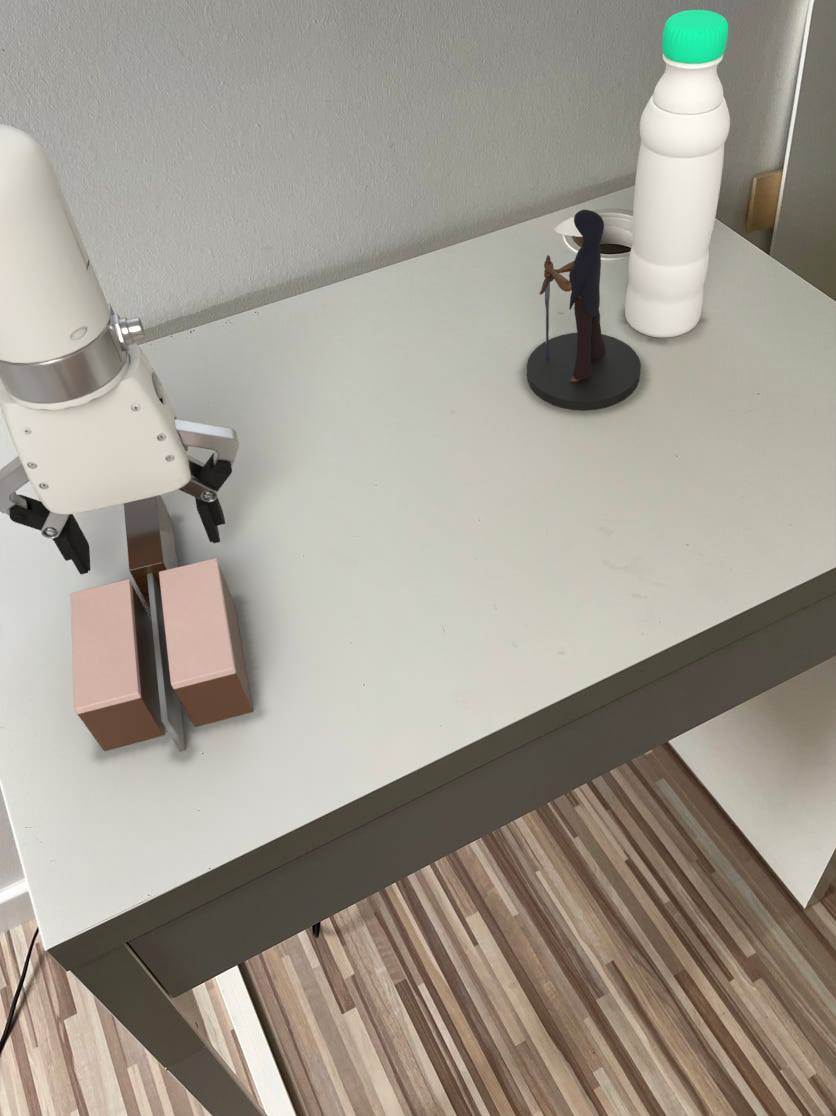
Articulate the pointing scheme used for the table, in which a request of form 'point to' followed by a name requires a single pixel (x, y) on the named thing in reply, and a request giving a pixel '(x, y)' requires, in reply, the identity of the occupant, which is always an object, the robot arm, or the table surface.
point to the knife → (155, 591)
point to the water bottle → (678, 178)
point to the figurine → (582, 333)
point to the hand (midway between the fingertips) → (150, 545)
